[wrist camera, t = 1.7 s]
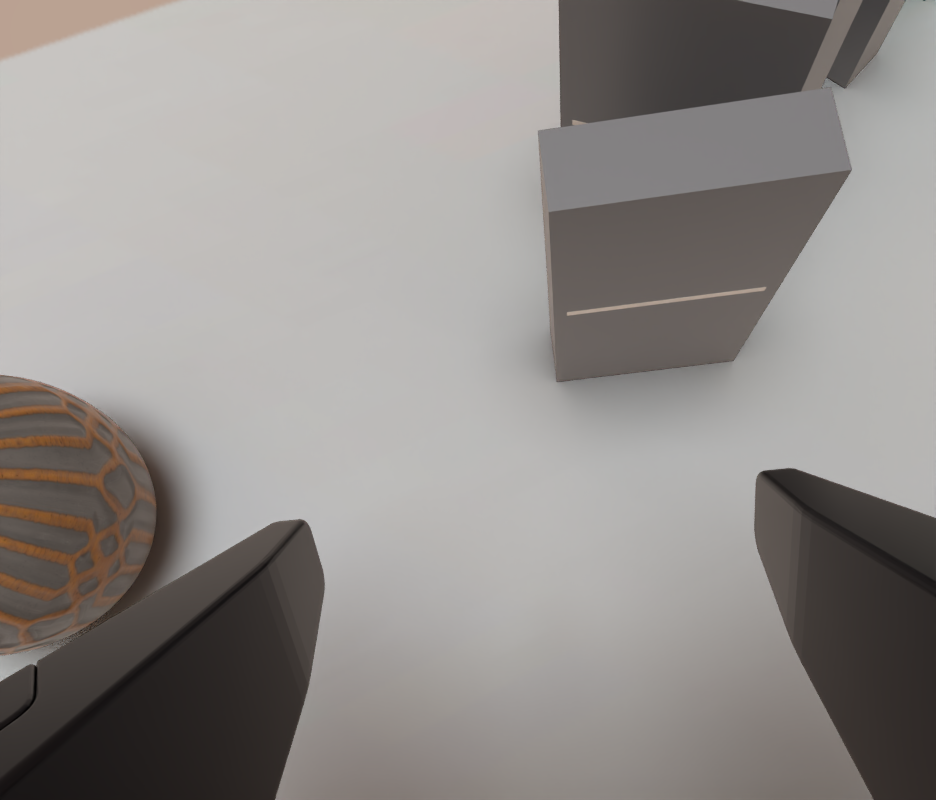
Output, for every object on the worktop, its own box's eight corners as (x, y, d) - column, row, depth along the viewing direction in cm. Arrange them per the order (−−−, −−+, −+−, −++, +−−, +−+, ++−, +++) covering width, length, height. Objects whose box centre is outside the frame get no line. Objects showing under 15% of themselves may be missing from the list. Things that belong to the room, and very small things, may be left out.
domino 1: (725, 265, 24) (832, 19, 14) (562, 221, 25) (558, -35, 15) (740, 217, 24) (854, -54, 14) (578, 176, 25) (584, -103, 15)
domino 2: (733, 360, 23) (852, 170, 13) (557, 381, 23) (549, 211, 14) (723, 308, 23) (831, 86, 14) (550, 330, 24) (538, 130, 14)
